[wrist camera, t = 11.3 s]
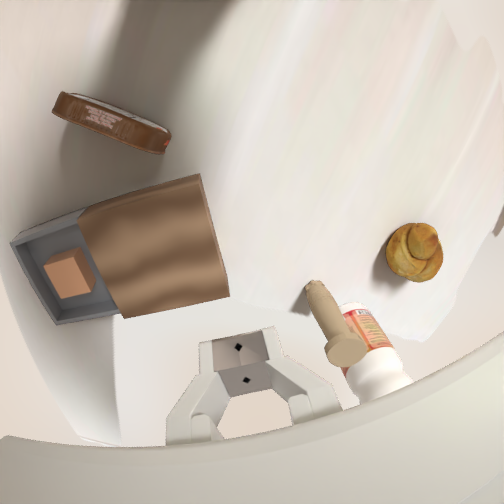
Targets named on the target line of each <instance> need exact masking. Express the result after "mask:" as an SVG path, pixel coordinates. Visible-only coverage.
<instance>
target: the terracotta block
mask: <svg viewBox="0 0 504 504" xmlns="http://www.w3.org/2000/svg"><path fill="white" fill-rule="evenodd" d="M43 267H44V269H45V271H46V272H47V274H48V276H49V278H50V280H51V282H52V284H53V285H54V287H55V289H56V291H57V292H58V294H59V296H60V298H61V299H62V298H67V297H71V296H75V295H80V294H84V293H88V292H91V291H92V289H93V287H94V285H95V282H96V278H95V276H94V274H93V272H92V270H91V268H90V266H89V264H88V262H87V260H86V258H85V256H84V253H83V251H82V249H81V247H78V248H75V249H71V250H68V251H65V252H62V253H59V254H56V255H53V256H51V257H50V258H49V259H48V261H47V262H46V263H45V265H44V266H43Z"/></svg>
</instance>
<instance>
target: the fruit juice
mask: <svg viewBox="0 0 504 504" xmlns="http://www.w3.org/2000/svg"><path fill="white" fill-rule="evenodd" d="M339 309H340V311H341V313H342V315H343V318H344V320H345V322H346V324H347V326H348V328H349V330H350V332H353V333H356V334H358V335H359V336H360V337H361V338H362V339H363V341H364V343H365V345H366V347H367V354H366V355H365V357H364V358H363V359H362V360H360V361H359V362H358V363H356V364H354V365H353V366H350V367H341V369H342V371H343V374H344V376H345V378H346V381H347V383H348V385H349V387H350V389H351V390H352V392H353V393H354V394H355V395H356V396H357V397H359V400H360V404H363V403H366V402H368V401H371V400H374V399H376V398H379V397H381V396H384V395H386V394H388V393H391V392H393V391H395V390H398V389H400V388H402V387H405V386H407V385H409V384H411V383H413V382H414V381H413V380H412V379H411V378H410V377H409V376H408V375H407V374H406V373H405V372H404V370H403V364H402V361H401V359H400V357H399V356H398V353H397V352H396V350H395V349H394V347H393V346H392V344H391V343H390V341H389V340H388V338H387V336H386V335H385V333H384V332H383V330H382V329H381V327H380V326H379V324H378V323H377V321H376V320H375V318H374V317H373V315H372V314H371V312H370V311H369V309H368V308H367V307H366V306H365V305H363V304H361V303H358V302H350V303H346V304H343V305H341V306H339Z"/></svg>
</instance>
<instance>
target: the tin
mask: <svg viewBox="0 0 504 504" xmlns="http://www.w3.org/2000/svg"><path fill="white" fill-rule="evenodd" d="M52 113H53V114H55V115H56V116H58V117H60V118H62V119H65V120H67V121H70V122H72V123H75V124H77V125H80V126H82V127H85V128H88V129H90V130H93V131H95V132H98V133H100V134H103V135H105V136H107V137H110V138H112V139H115V140H117V141H119V142H122V143H124V144H126V145H129V146H132V147H134V148H137V149H140V150H143V151H147V152H150V153H154V154H164V153H165V149H166V147H167V145H168V143H169V141H170V139H171V133H170V131H169V130H167V129H166V128H164V127H162V126H160V125H158V124H156V123H153V122H151V121H149V120H147V119H144V118H142V117H140V116H137V115H135V114H133V113H130V112H128V111H126V110H123V109H121V108H118V107H116V106H113V105H110V104H108V103H105V102H102V101H99V100H96V99H93V98H90V97H87V96H84V95H80V94H76V93H66V92H63V91H62V92H61V93H60V94H59V96H58V98H57V101H56V103H55V106H54V108H53V109H52Z"/></svg>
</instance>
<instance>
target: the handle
mask: <svg viewBox="0 0 504 504" xmlns="http://www.w3.org/2000/svg"><path fill="white" fill-rule="evenodd" d="M305 290H306V296H307V300H308V303H309V306H310V308H311V311H312V313H313V315H314V317H315V319H316V320H317V322H318V324H319V326H320V328H321V329H322V331H323V333H324V335H325V337H326V338H327V340H328V343H327V344H326V346H325V348H324V349H325V352H326V355H327V358H328V360H329V362H330V363H331V364H333V365H335V366H337V367H350V366H353V365H354V364H356V363H358V362H359V361H360V360H362V359H363V358H364V357H365V355H366V354H367V347H366V345H365V343H364V341H363V339H362V338H361V337H360V336H359V335H358V334H356V333H353V332H350V330H349V328H348V326H347V324H346V322H345V320H344V318H343V315H342V313H341V311H340V309H339V307H338V305H337V303H336V301H335V300H334V298H333V296H332V295H331V294H330V292H329V291H328V290H327V289H326V287H324V284H323V283H322V282H321V281H313V280H312V281H310V283H309V284H308V285H306V286H305Z"/></svg>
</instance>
